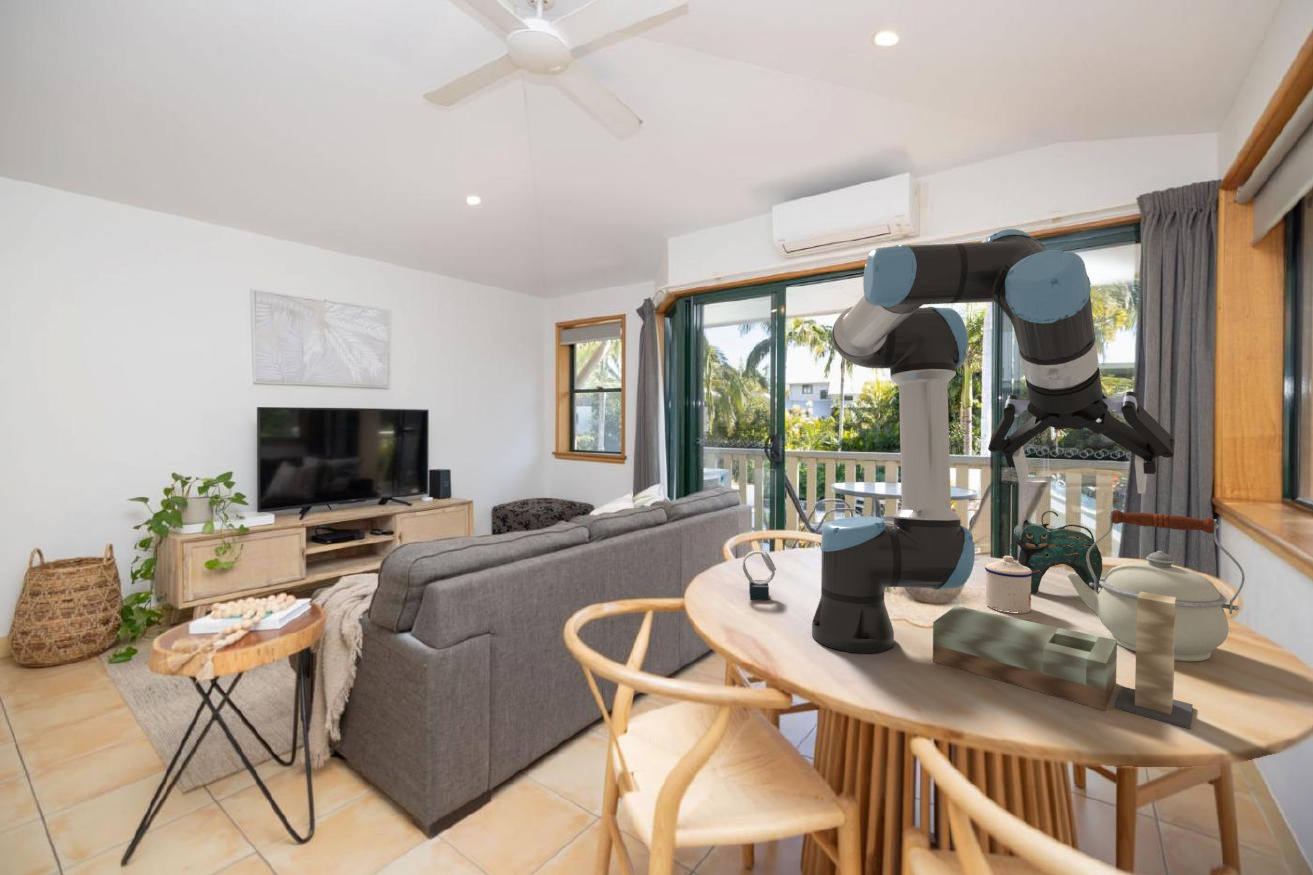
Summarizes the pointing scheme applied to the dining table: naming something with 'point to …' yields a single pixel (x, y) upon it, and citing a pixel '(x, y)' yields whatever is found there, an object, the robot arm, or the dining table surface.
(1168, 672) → the wooden block
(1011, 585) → the teacup with lid
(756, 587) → the watch
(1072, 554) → the ceramic cat
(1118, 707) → the rubber mat
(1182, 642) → the kettle
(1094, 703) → the green block with hole
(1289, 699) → the dining table surface
